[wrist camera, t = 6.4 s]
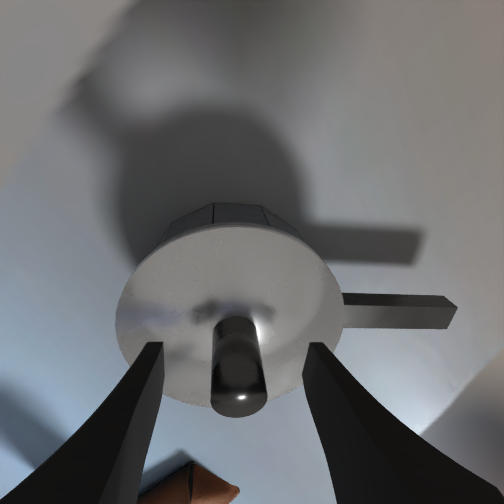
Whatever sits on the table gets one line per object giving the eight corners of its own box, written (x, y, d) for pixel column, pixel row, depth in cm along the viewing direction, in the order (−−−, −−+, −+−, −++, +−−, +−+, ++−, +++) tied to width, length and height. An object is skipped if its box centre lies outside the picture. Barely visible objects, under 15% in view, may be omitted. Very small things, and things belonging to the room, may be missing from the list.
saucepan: (154, 338, 20) (140, 388, 16) (146, 197, 15) (124, 223, 12) (392, 339, 22) (425, 382, 19) (442, 218, 18) (498, 245, 14)
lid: (121, 392, 16) (90, 482, 12) (119, 203, 12) (67, 252, 8) (306, 398, 18) (331, 477, 14) (369, 239, 13) (431, 291, 10)
